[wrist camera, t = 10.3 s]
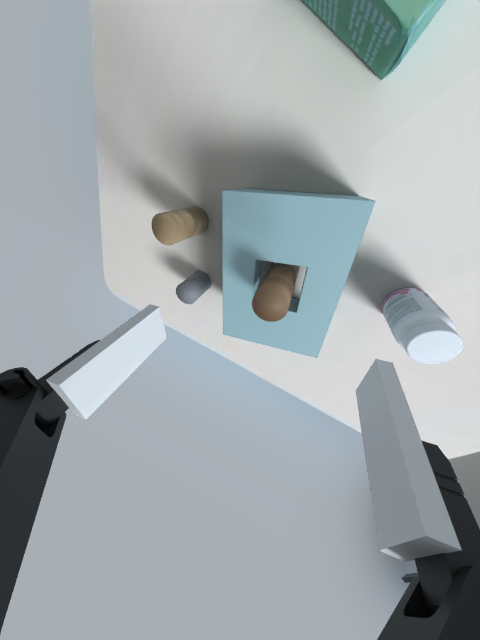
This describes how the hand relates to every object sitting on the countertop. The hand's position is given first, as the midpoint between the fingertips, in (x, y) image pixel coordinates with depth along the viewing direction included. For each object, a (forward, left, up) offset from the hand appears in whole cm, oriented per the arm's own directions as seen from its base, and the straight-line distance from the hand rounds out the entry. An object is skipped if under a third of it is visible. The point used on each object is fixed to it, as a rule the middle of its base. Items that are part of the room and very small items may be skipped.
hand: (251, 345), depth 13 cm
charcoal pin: (+5, -13, -18) cm, 23 cm away
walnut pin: (0, 0, -18) cm, 18 cm away
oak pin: (-4, -13, -18) cm, 23 cm away
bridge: (0, 0, -18) cm, 18 cm away
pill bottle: (+3, +15, -18) cm, 24 cm away
